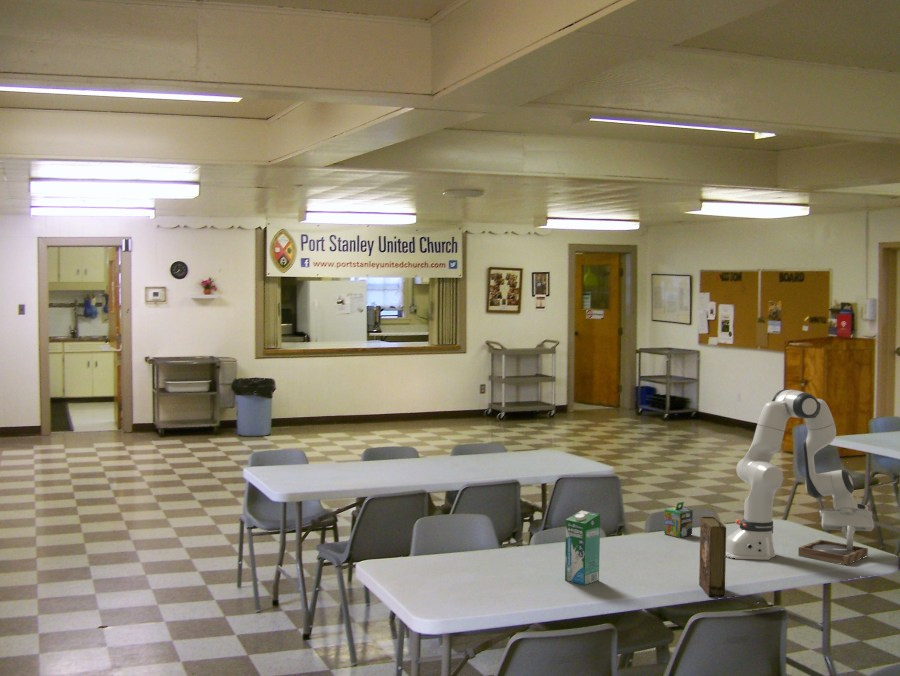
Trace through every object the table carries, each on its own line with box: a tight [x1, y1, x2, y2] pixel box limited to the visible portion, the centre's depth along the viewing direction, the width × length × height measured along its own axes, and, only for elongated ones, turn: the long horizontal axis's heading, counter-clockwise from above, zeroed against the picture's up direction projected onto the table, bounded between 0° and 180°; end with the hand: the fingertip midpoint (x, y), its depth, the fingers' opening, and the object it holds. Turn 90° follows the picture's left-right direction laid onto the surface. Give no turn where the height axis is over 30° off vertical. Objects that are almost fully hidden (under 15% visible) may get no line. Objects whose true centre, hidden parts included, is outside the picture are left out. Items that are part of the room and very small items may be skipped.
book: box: [698, 516, 727, 597], centre depth 352 cm, size 16×6×25 cm, turn 179°
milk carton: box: [564, 510, 601, 586], centre depth 363 cm, size 9×9×25 cm
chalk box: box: [663, 501, 694, 538], centre depth 438 cm, size 9×9×15 cm
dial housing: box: [798, 539, 869, 565], centre depth 403 cm, size 20×20×4 cm
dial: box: [812, 525, 854, 555], centre depth 403 cm, size 16×16×11 cm
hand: (849, 538), depth 404 cm, fingers closed, pressing on dial
